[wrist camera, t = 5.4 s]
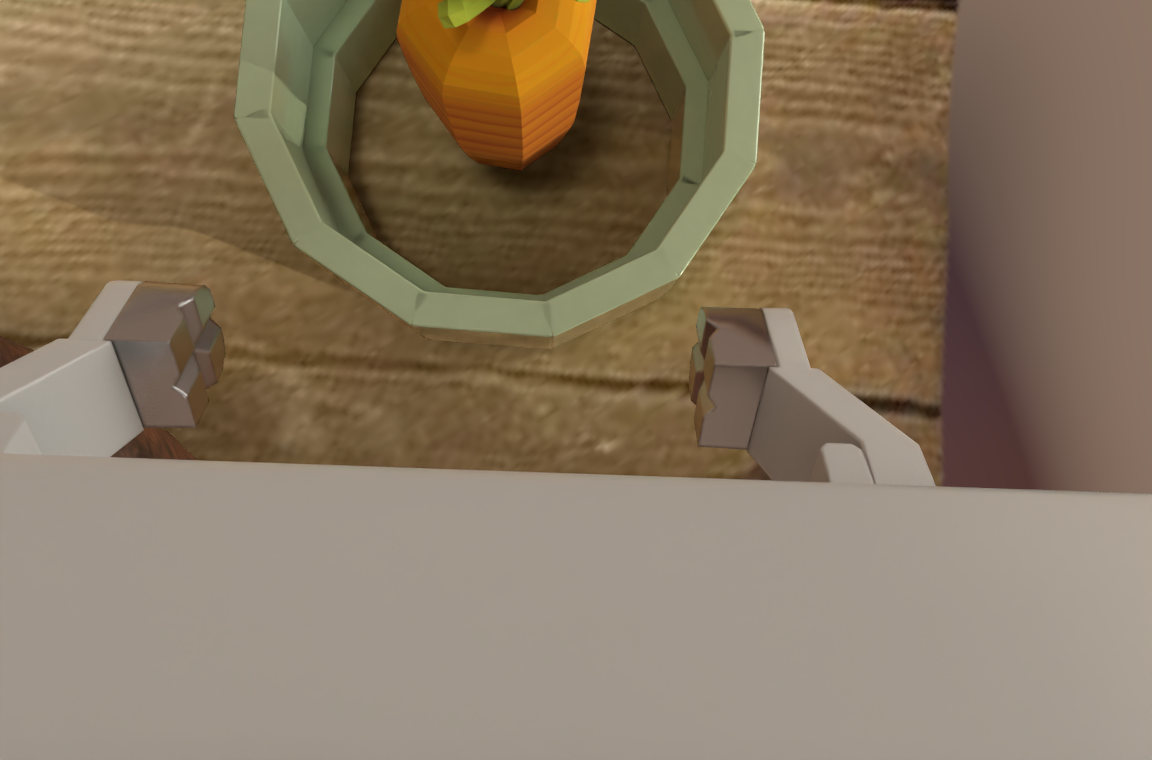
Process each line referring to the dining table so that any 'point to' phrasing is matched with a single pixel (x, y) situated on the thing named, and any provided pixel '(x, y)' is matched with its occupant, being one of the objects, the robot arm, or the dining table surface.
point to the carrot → (499, 71)
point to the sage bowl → (355, 256)
